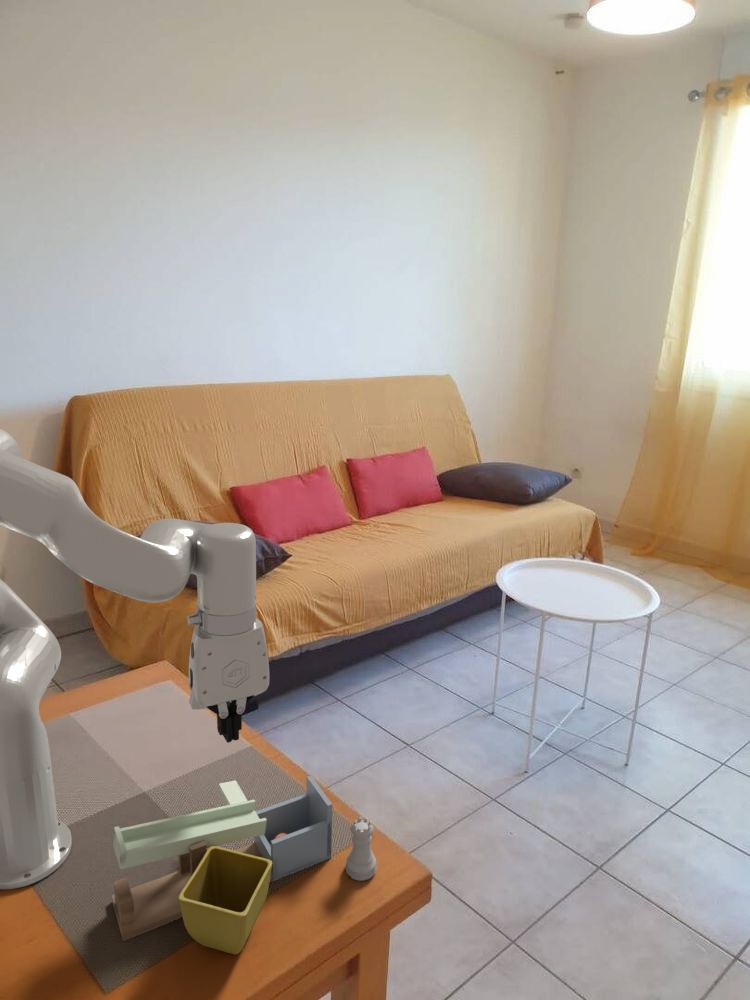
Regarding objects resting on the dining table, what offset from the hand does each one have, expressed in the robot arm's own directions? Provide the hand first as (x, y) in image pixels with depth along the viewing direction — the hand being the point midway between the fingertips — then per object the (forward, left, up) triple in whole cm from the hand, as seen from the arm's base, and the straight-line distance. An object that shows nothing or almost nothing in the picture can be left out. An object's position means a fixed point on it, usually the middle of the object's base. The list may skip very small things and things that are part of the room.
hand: (229, 735), depth 100 cm
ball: (+6, +6, -17) cm, 18 cm away
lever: (+2, -7, -10) cm, 13 cm away
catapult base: (+6, -7, -19) cm, 21 cm away
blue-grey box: (+6, +7, -19) cm, 21 cm away
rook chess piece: (+13, +14, -19) cm, 27 cm away
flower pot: (+14, -6, -19) cm, 24 cm away
